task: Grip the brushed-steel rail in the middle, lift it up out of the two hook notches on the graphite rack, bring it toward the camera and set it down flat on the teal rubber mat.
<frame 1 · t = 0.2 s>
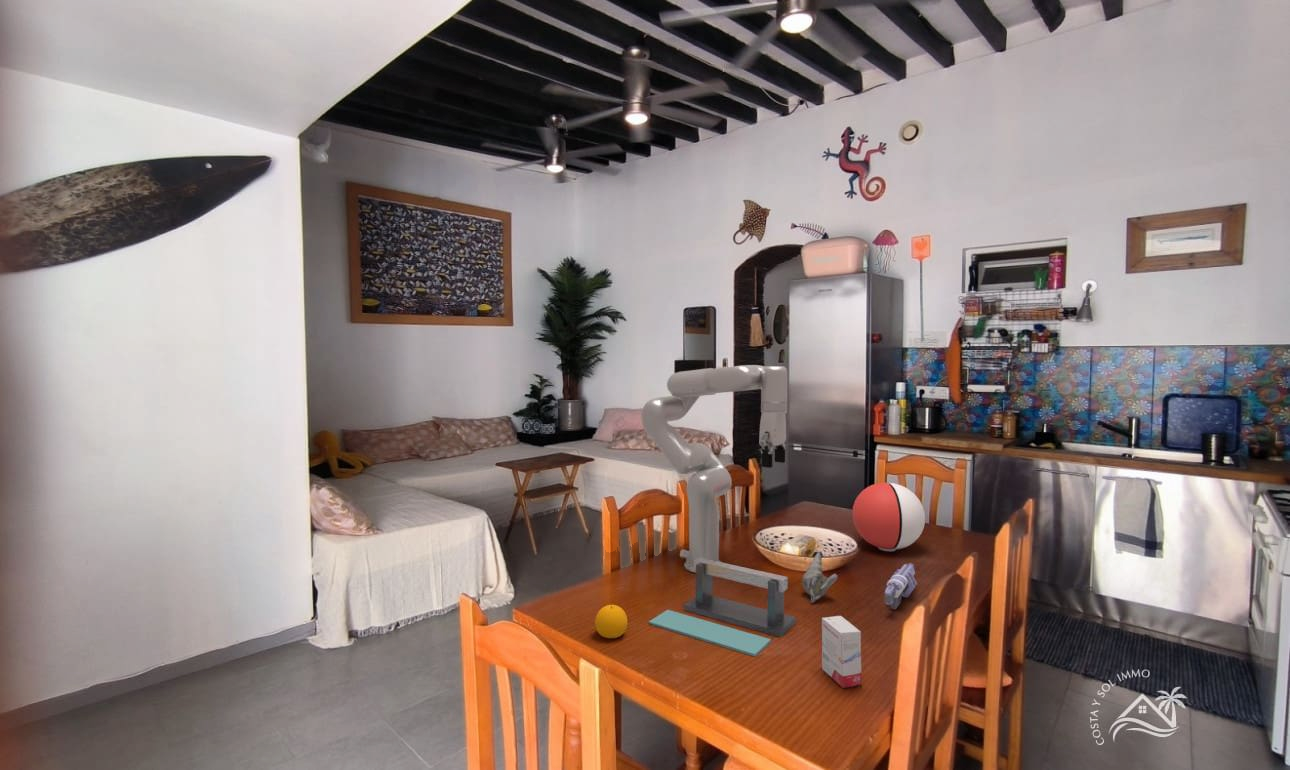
hand: (773, 464, 187), 37 cm above the table, tool pointing down, fingers open, 9 cm apart
yellow orange fruit: (611, 636, 156), on the table
rack: (738, 616, 166), on the table
ink box: (840, 678, 136), on the table
rail: (738, 579, 166), point 10 cm above the table, touching rack
ball: (887, 549, 222), on the table
toy gun: (899, 601, 177), on the table
seashell: (821, 595, 181), on the table
mat: (708, 632, 157), on the table
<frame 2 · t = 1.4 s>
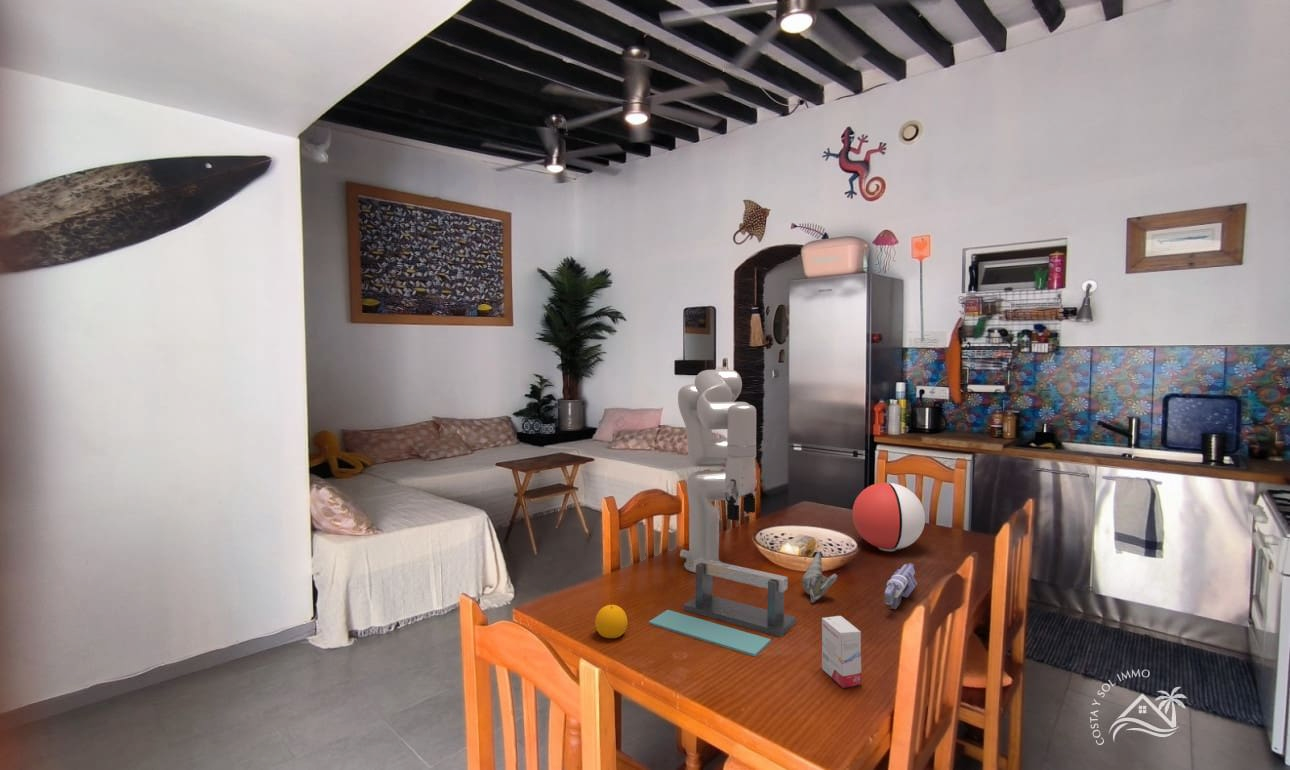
hand: (741, 515, 165), 27 cm above the table, tool pointing down, fingers open, 9 cm apart
nothing on the table moved.
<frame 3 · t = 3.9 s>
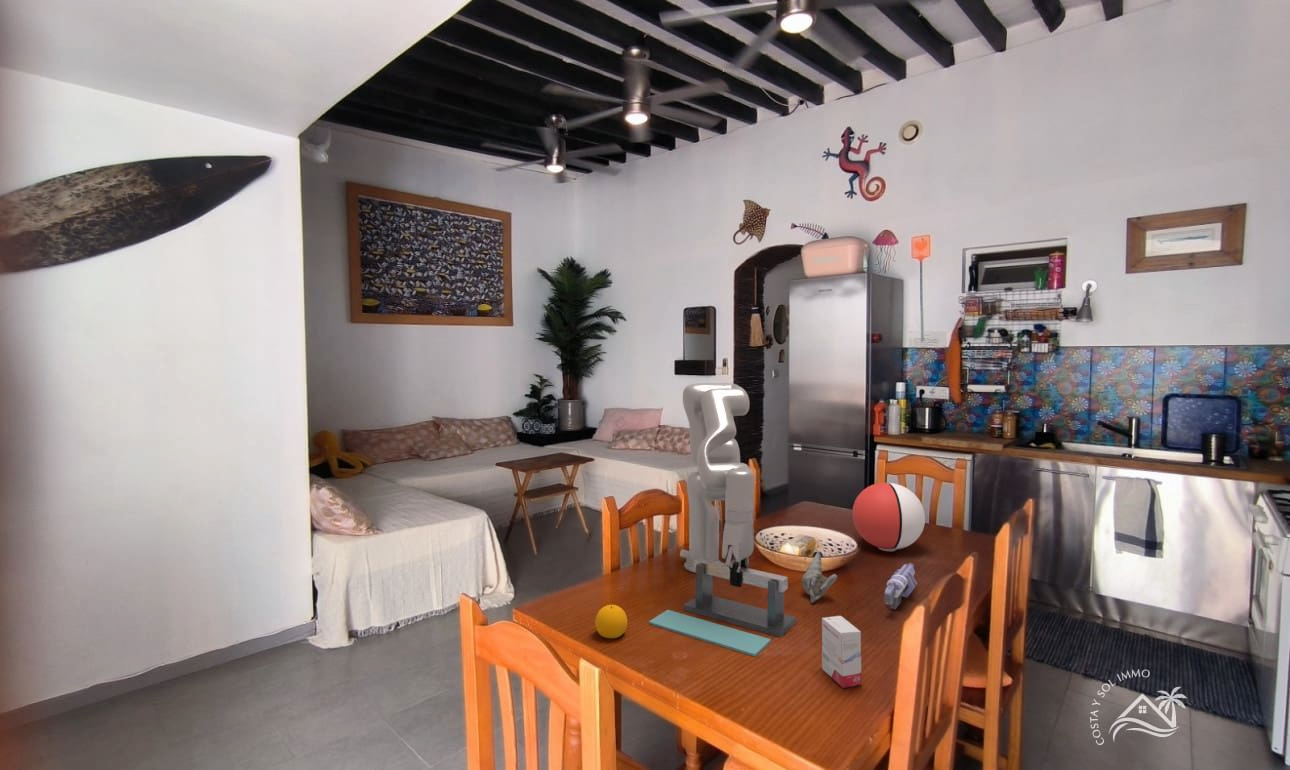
hand: (738, 583, 166), 9 cm above the table, tool pointing down, fingers closed on rail, 3 cm apart
rail: (738, 579, 166), point 10 cm above the table, touching gripper, rack
everything else where it was.
when the fingers open (1 cm above the table, at t = 11.6 s): rail drops 2 cm, resting on mat.
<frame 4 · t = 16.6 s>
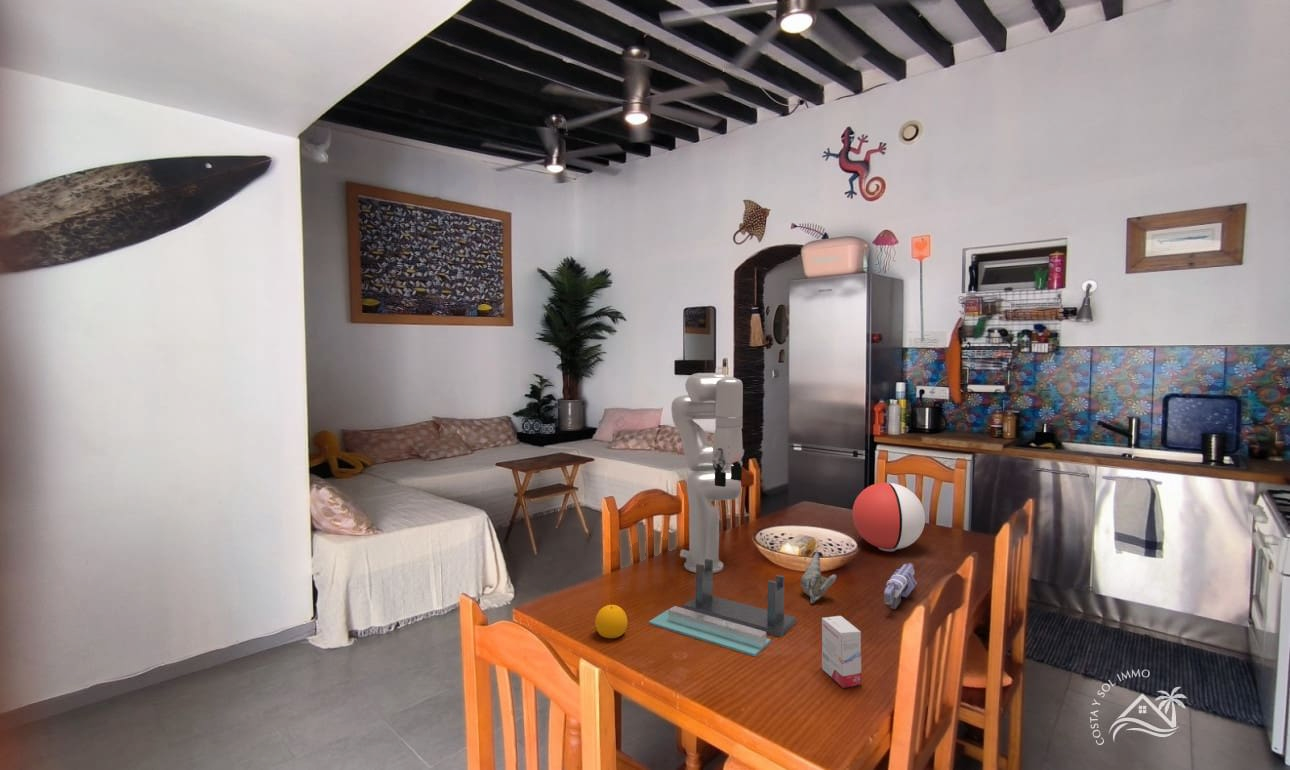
hand: (728, 482, 176), 33 cm above the table, tool pointing down, fingers open, 9 cm apart
rail: (715, 632, 156), point 1 cm above the table, touching mat
everything else where it was.
at the end: rail inside the target area on the mat (2.0 cm from its centre), point 0.6 cm above the mat's base; rail tilted 0°; the gripper is holding nothing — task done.
